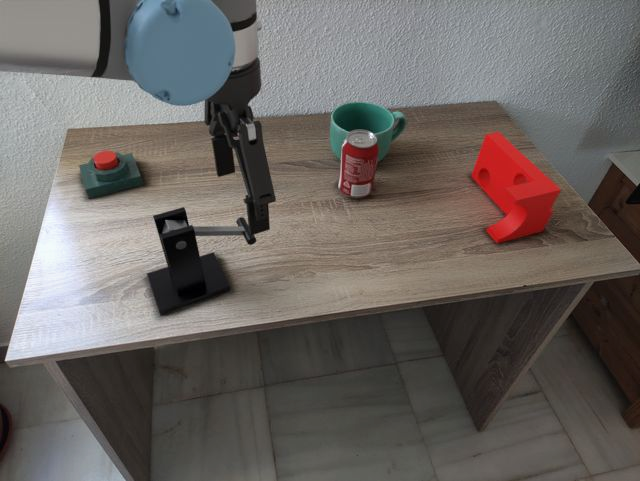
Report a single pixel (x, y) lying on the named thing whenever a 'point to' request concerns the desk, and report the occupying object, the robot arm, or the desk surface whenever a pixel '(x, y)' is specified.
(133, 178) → the button box
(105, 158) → the button
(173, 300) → the bracket
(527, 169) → the bracket
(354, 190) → the soda can
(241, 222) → the lever
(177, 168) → the desk surface
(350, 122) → the mug
